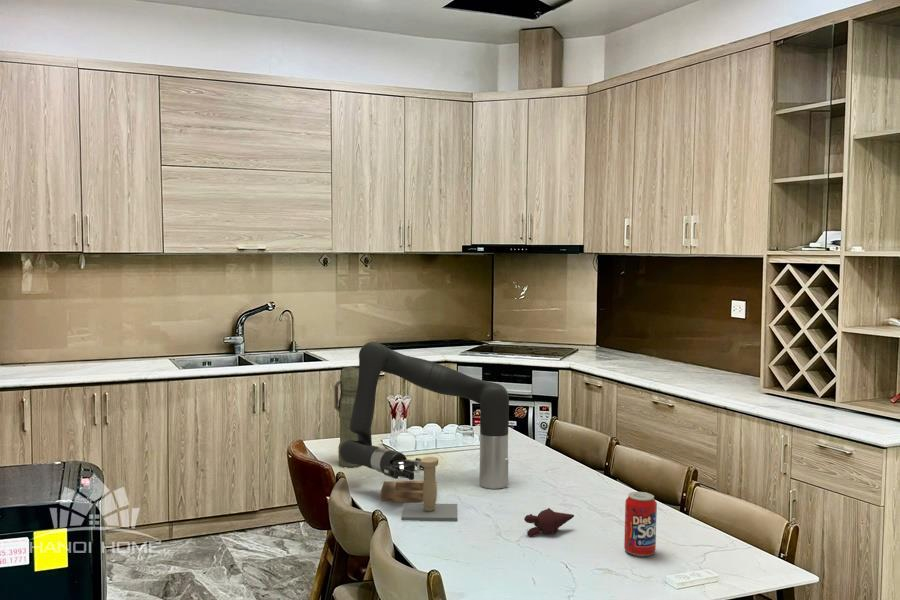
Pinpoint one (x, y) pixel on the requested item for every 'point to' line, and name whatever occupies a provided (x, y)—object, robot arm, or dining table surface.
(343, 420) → the thermos
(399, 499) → the collar
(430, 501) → the handle
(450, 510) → the mat
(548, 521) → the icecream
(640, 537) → the soda can
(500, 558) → the dining table surface
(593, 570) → the dining table surface
